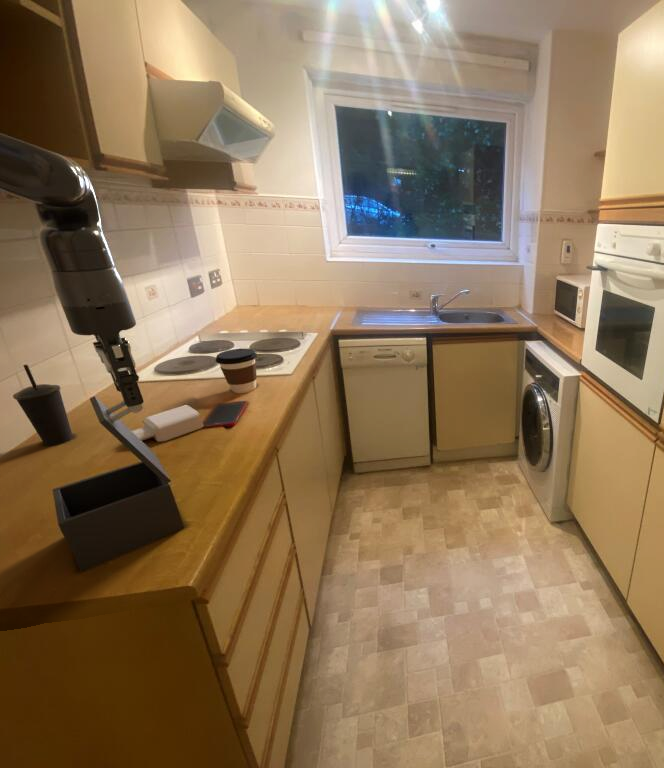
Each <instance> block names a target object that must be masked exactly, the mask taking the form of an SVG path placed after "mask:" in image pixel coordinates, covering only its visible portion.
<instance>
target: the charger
mask: <svg viewBox="0 0 664 768" xmlns="http://www.w3.org/2000/svg"><path fill="white" fill-rule="evenodd" d="M203 422H204V421H203V419H202V416H201V413H200V412H199V411H197V410H196V409H195V408H193V407H191V406H190V405H188V404H184V405H180V406H178V407H174V408H171V409H167V410H165V411H162V412H159V413H156V414H152V415H150V416H147V417H145V418H144V419H143V420H142V423H143V425H144V426H143V427H139V428H137V429H134V430H131V431H132V432H133V433H134V434H135V435H136V436H137V437H138V438H139V439H140V440H141V441H142V442H143V441H146V440H149V439H151V438H153V439H154V440H155V441H156V442H159V443H160V442H166V441H170V440H172V439H176V438H179V437H181V436H184V435H186V434H189V433H193V432H195V431H198V430H201V429H204V428H203V426H204V425H203Z"/></svg>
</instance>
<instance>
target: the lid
mask: <svg viewBox="0 0 664 768" xmlns="http://www.w3.org/2000/svg"><path fill="white" fill-rule="evenodd" d="M89 401H90V404H91V406H92V408H93V410H94V412H95V416H96V417H97V419H98V423H99V424H101V426H102V427H104V429H106V430H107V431H108V432H109V433H110V434H111V435H112V436H113V437H114V438H116V440H118V442H120V443H121V444H122V445H123V446H124V447H125V448H126V449H128V450H129V451H130V452H131V453H132V454H133V455H134V456H135V457H136V458H137V459H138V460H140V462H141V461H142V462H143V463H144V464H145V465H146V466H147V467H148V468H149V469H151V470H152V471H153V472H154V473H155V474H156V475H157V476H158V477H159V478H160V479H161V480H162V481H164V482H165V483H166V484H167V483H169V484H170V483H171V482H172V480H171V478H170V476H169V475H168V473H167V471H166V469H165V468H164V465H162V463H161V461H160V460H159V457H158V456H157V454H156V453H155V452H154V451H153V450H152V449H151V448H150V447H149V446H147V444H146V443H145V442H143V441H141V440H140V439H139V438H138V437H137V436H136V435H135V434H134V433H133V432H132V431H133V430H131V429H130V428H129V427H128V426H127V425H126V424H125V423H124V422H122V420H121V419H123V417H125V416H127V415H129V414H131V413H133V414H138V413H140V412H141V411H143V408H144V405H143V403H142V404H140V405H136V406H132V407H128V406H126V404H125V402H124V399H123V398H122V401H120V402H119V403H116V404H115V405H113V406H111V407H109V408H108V406H106V405H105V404H104V403H103V402H102V401H101V400H100V399H99V398H98V397H97V396H95V395H94V396H92V397H90V398H89ZM124 407H126V408H124ZM122 408H124V409H123V410H121V409H122ZM119 410H121V411H119ZM117 411H119V412H117ZM115 412H117V413H115ZM114 413H115V414H114Z"/></svg>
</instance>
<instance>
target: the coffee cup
mask: <svg viewBox="0 0 664 768" xmlns="http://www.w3.org/2000/svg"><path fill="white" fill-rule="evenodd" d="M256 358H258V353H257V352H256V351H255V350H254V349H252V348H234V349H233V348H232V349H229V350H225V351H222V352H220V353H218V354H217V355H216V358H215V362H216V363H217V364H219V368H220V371H221V372H222V375H223V376H224V378H225V381H226V383H227V384H228V385H229V388H230V389H231V391H232V393H234V394H245V393H246V394H247V393H251V392H253V391H254V390H256V388H257V361H256Z"/></svg>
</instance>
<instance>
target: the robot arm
mask: <svg viewBox="0 0 664 768" xmlns="http://www.w3.org/2000/svg"><path fill="white" fill-rule="evenodd" d="M0 191H3V192H5V193H7V194H10V195H12V196H16V197H18V198H20V199H24V200H27V201H30V202H33V205H34V209H35V211H36V215H37V217H38V220H39V223H40V229H39V232H38V241H39V244H40V247H41V250H42V252H43V253H42V254H43V255H44V257H45V261H46V263H47V266H48V269H49V270H50V274H51V278H52V282H53V285H54V286H53V287H54V289H55V292H56V295H57V297H58V301H59V302H60V305H61V307H62V310H63V312H64V315H65V318H66V321H67V323H68V325H69V328H70V330H71V332H72V333H73V334H75V335H78V336H94V338H95V340H96V341H93V342H92V345H93V348H94V350H95V352H96V354H97V355H98V357H99V359H100V361H101V363H102V364H104V367H105V369H106V372H107V373H108V374H110V376H111V378H112V382H113V385H114V386H115V389H116V391H117V392H119V393H120V394H121V397H122V400H123V399H124V402H125V404H126V406H125V407H127V406H128V407H132V406H136V405H140V404H142V405H143V404H144V403H145V402H144V398H143V395H142V392H141V390H140V387H139V384H138V382H139V381H140V376H139V374H138V373H137V371H136V370H137V369H136V367H137V366H136V362H135V359H134V356H133V354H132V347H131V345H130V341H129V340H127V338H126V337H121V335H120V334H121V333H120V332H122V331H128V330H131V329H132V328H135V326H137V321H136V318H135V315H134V312H133V309H132V307H131V303H130V300H129V297H128V295H127V292H126V288H125V286H124V282H123V280H122V278H121V275H120V274H119V272H118V270H117V267H116V264H115V261H114V258H113V256H112V253H111V249H110V247H109V245H108V242H107V240H106V237H105V235H104V231H103V227H102V221H101V216H100V210H99V206H98V201H97V198H96V194H95V190H94V187H93V185H92V181H91V179H90V176H89V175H88V173H87V172H86V171H85V170H84V168H83V167H82V166H81V165H80V164H79V163H77V162H76V161H75V160H73V159H72V158H70V157H68V156H65V155H63V154H61V153H58V152H55V151H51V150H49V149H45V148H43V147H40V146H38V145H35V144H31V143H29V142H26V141H23V140H21V139H18V138H15V137H12V136H9V135H7V134H5V133H1V132H0ZM128 407H127V408H128Z"/></svg>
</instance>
